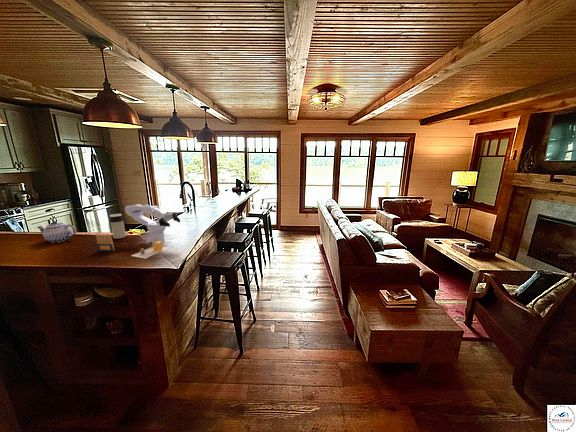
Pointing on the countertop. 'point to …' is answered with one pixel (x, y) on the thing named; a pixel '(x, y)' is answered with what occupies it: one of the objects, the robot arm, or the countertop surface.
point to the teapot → (57, 232)
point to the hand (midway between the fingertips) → (174, 223)
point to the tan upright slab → (105, 243)
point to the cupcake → (157, 246)
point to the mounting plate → (147, 252)
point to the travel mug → (117, 226)
